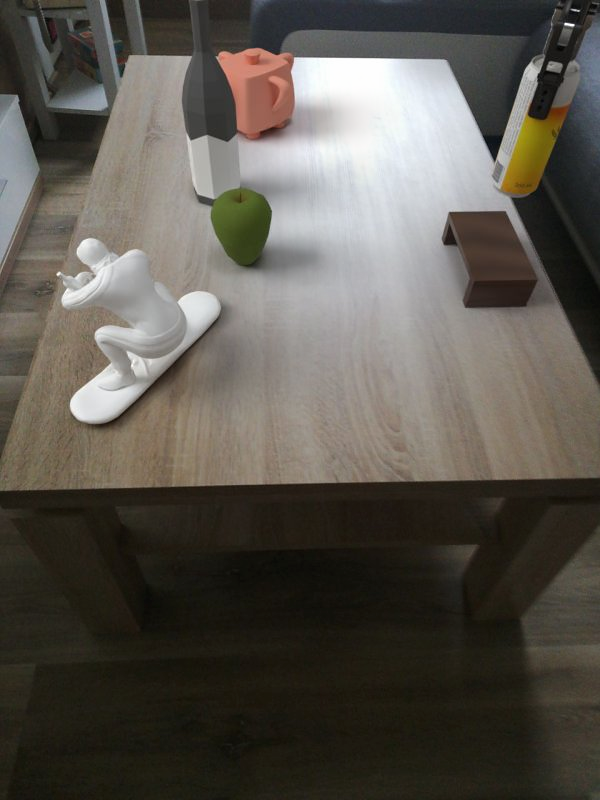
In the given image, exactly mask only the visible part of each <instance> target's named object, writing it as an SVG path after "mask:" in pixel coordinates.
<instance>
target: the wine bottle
mask: <svg viewBox="0 0 600 800" xmlns="http://www.w3.org/2000/svg"><path fill="white" fill-rule="evenodd" d="M188 3H189V11H190V22H191V31H192V39H193V40H192V41H193V52H192V54H191V55H192V56H191V58H190V61H189V64H188V66H187V68H186V71H185V75H184V78H183V84H182V91H181V106H182V107H181V108H182V113H183V120H184V122H183V123H184V127H185V136H186V143H187V150H188V158H189V164H190V171H191V179H192V185H193V191H194V195H195V196H196V198H197V200H198V202H199V203H200V204H203V205H206V206H207V205H208V206H210V207H213V204H214V201H215V200H216V199H217V198H218V196H220V195H221V194H222V193H224V192H226V191H228V190H231V189H237V188H242V184H241V169H240V154H239V153H240V152H239V138H238V137H239V136H238V135H239V134H238V130H237V119H236V103H235V100H234V96H233V93H232V89H231V86H230V84H229V81H228V79H227V76H226V74H225V72H224V71H223V69H222V67H221V65H220V64H219V62H218V61H219V59H218V57H216V55H215V53H214V50H213V46H212V45H213V44H212V35H211V24H210V23H211V21H210V11H209V0H188Z"/></svg>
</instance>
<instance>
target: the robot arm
mask: <svg viewBox="0 0 600 800" xmlns="http://www.w3.org/2000/svg"><path fill="white" fill-rule="evenodd" d="M599 5H600V3H599V2H593V0H558V4H556V5H555V9H554V12H553V14H552V17H551V22H550V23H551V28H550V31H549V33H548V36H547V38H546V40H545V41H546V42H545V44H544V47H543V51H542V55H543V56H544V57H545V58H544V61H543V64H542V67H541V70H540V73H538V75H537V78H538V79H537V82H538V85H537V88H536V91H535V93H534V96H533V99H532V102H531V105H530V108H529V111H528V116H529V117H530V118H534V119H539V120H545V119H546V118H547V117H548V114H549V112H550V109H551V106H552V104H553V101H554V98H555V96H556V93H557V90H558V88H559V87H560V85H561V83H563V81H564V79H565V78H563V77H564V74H565V72H566V69H567V66H568V64H569V63H571V62H573V61H576V59H577V56H578V54H579V51H580V48H581V45H582V43H583V40H584V38H585V35H586V33H588V32H589V31H590V29H591V27H592V24H593V22H594V20H595V19H594V18H595V16H596V14H597V11H598V8H599ZM550 61H552V62H557V63H561V64H562V65H563V67H562V69H561V72H560V73H558V72H553V71H548V70H547V67H548V64H549V62H550Z"/></svg>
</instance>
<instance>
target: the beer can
mask: <svg viewBox="0 0 600 800" xmlns="http://www.w3.org/2000/svg"><path fill="white" fill-rule="evenodd" d="M544 58H545V57H544V56H543V54H538V55H536V56H534V57H532V59H531V61H530V62H529V64H528V65H527V66H526V67H525V69H524V71H523V75H522V77H521V81H520V84H519V87H518V90H517V93H516V96H515V100H514V102H513V106H512V109H511V112H510V114H509V118H508V122H507V124H506V127H505V130H504V134H503V137H502V140H501V143H500V145H499V149H498V153H497V155H496V158H495V162H494V164H493V168H492V171H491V173H490V182H491V184H492V187H493V189H494V190H495V191H496V192H497V193H499V194H500V195H503V196H504V197H507V198H508V197H509V198H515V199H517V198H518V199H519V198H524V197H527V196H529V195H530V194H531V193H534V192H535V191H536V190H537V189H538V187H539V184H540V182H541V180H542V176H543V174H544V172H545V169H546V167H547V164H548V162H549V159H550V157H551V154H552V152H553V149H554V147H555V144H556V142H557V139H558V137H559V134H560V132H561V130H562V128H563V127H562V126H563V124H564V122H565V119H566V116H567V114H568V111H569V110H570V109H569V108H570V106H571V104H572V101H573V98H574V96H575V94H576V91H577V89H578V87H579V84H580V82H581V72H580V71H581V65H580V64H579V62H577V61H576V60H574V61H573V62H571V63H569V64H568V66H567V69H566V72H565V74H564V77H563V78H565V79H564V81H563V83H561V85H560V87H559V88H558V90H557V93H556V96H555V98H554V101H553V104H552V106H551V109H550V112H549V114H548V117H547V118H546V119H545V120H539V119H534V118H530V117H529V116H528V111H529V108H530V105H531V102H532V99H533V96H534V93H535V91H536V88H537V85H538V82H537V79H538V78H537V75H538V73H540V70H541V67H542V64H543V61H544ZM562 67H563V65H562V64H561V63H557V62H552V61H550V62H549V64H548V67H547V70H548V71H553V72H558V73H560V72H561V69H562Z"/></svg>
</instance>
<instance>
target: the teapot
mask: <svg viewBox="0 0 600 800" xmlns="http://www.w3.org/2000/svg"><path fill="white" fill-rule="evenodd" d="M217 60H218V62H219V64H220V65H221V67H222V69H223V71H224V72H225V74H226V76H227V79H228V81H229V84H230V86H231V89H232V93H233V96H234V100H235V103H236V119H237V131H239V132H241V133H243V134H245V135H246V137H247V138H248V139H249V140H258V139H259V138H260V137H261V132H263V131H266V130H269V129H271V128H274V129H281V128H283V127H285V123H284V122H285V121H287V120H288V119H290V118H291V117H292V116H293V113H294V110H295V105H296V104H295V103H296V97H295V96H296V95H295V94H296V93H295V85H294V80H293V79H294V78H293V74H292V70H293V67H294V63H295V57H294V54H292V53H291V52H283V53H280V54H278V55H276V54H275V53H272V52H270V51H267V50H265V49H263V48H260V47H255V48H254V47H253V48H247V49H245V50H243V51H239V52H237V53H231V52H228V51H226V50H225V51H220V52H219V53H218V56H217Z"/></svg>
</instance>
